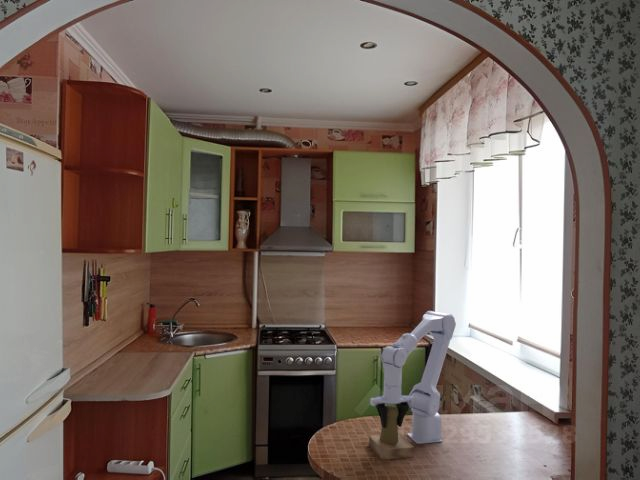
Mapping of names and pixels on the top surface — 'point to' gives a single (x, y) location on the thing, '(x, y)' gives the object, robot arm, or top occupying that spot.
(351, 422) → the top surface
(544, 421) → the top surface
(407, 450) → the walnut block
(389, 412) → the cork
